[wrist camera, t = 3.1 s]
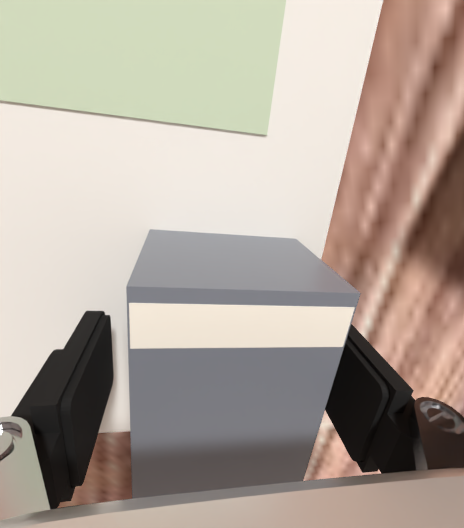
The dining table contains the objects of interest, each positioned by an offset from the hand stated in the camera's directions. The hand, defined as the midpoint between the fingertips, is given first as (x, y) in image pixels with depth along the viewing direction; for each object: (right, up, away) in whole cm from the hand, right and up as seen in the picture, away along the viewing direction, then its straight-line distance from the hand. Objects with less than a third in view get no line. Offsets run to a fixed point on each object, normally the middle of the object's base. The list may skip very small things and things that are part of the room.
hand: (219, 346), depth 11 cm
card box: (0, +1, +1) cm, 1 cm away
